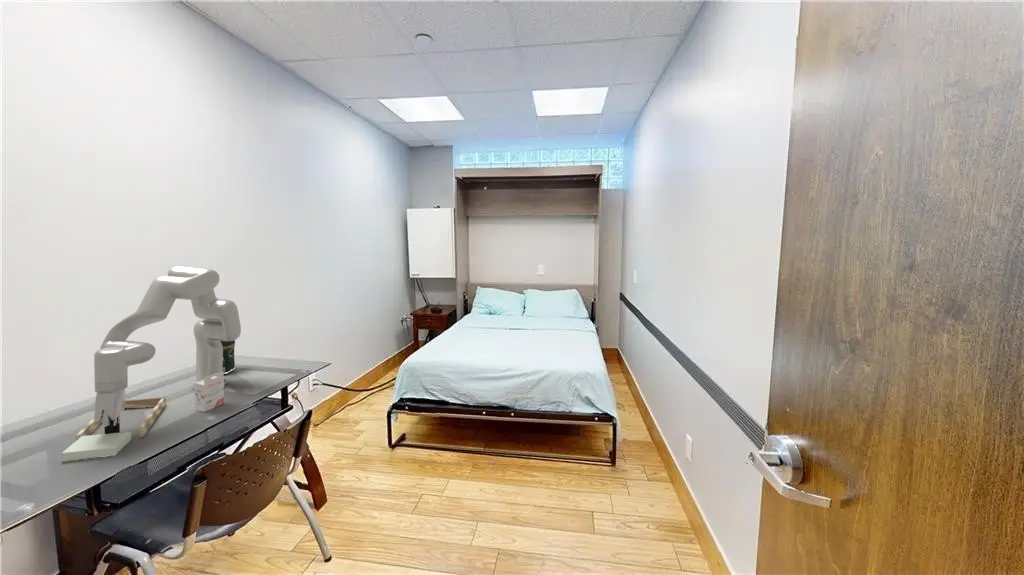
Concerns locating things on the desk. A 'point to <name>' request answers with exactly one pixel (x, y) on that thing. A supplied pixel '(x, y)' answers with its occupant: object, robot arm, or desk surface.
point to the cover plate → (96, 446)
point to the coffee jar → (228, 355)
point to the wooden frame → (134, 403)
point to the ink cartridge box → (209, 392)
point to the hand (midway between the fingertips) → (112, 435)
